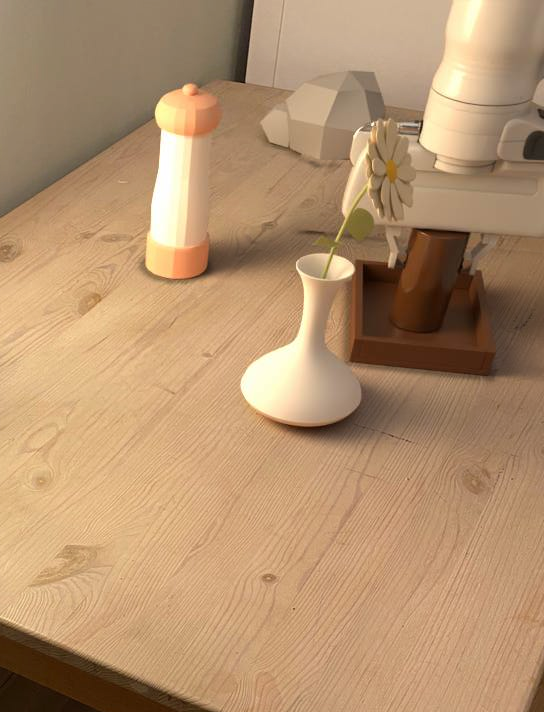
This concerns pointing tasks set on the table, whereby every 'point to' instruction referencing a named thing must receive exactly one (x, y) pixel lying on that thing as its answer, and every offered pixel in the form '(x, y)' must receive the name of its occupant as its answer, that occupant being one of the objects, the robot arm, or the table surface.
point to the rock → (326, 114)
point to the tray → (419, 349)
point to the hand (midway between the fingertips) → (430, 269)
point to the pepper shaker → (182, 184)
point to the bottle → (428, 278)
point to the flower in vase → (330, 303)
